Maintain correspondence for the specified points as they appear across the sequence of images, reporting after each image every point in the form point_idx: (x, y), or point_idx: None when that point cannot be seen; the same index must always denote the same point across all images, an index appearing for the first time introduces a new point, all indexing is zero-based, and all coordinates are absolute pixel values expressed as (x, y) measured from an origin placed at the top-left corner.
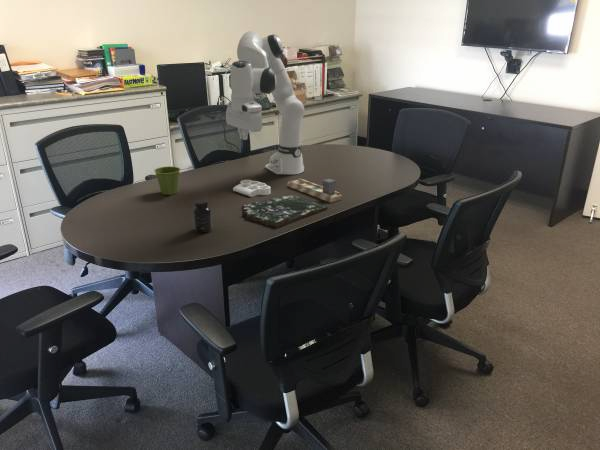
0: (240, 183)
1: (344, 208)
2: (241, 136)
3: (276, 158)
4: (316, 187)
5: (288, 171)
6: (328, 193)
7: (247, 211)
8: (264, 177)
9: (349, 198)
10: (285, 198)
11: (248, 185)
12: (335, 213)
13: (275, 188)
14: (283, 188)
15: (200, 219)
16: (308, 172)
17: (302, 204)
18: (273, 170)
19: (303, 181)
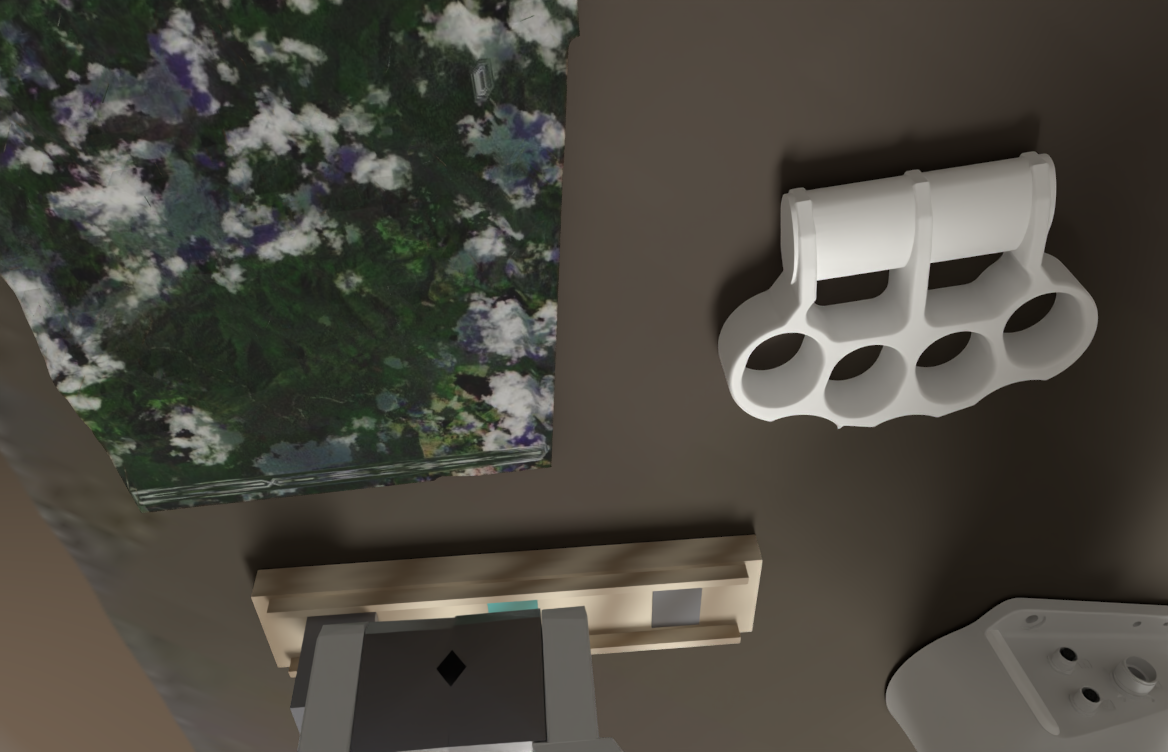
0: (1068, 279)
1: (106, 576)
2: (483, 688)
3: (1113, 712)
4: None
5: (947, 660)
6: (308, 626)
7: None
8: (1050, 512)
9: (274, 674)
10: (495, 387)
11: (969, 310)
12: (30, 493)
13: (789, 454)
14: (742, 493)
15: None
16: (860, 726)
17: (282, 412)
18: (1073, 612)
19: (680, 633)
